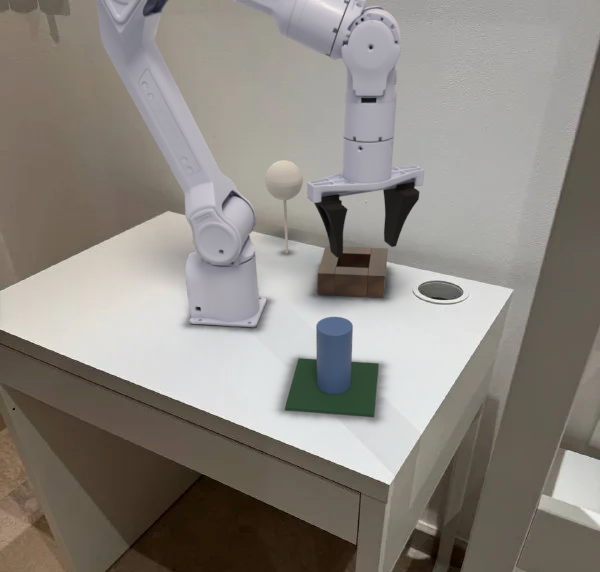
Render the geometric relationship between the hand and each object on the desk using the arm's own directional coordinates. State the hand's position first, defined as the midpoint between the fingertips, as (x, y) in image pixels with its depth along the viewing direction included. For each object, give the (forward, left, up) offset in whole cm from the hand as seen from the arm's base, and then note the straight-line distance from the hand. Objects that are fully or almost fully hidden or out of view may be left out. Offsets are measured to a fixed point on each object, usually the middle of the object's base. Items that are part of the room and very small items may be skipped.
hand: (363, 248), depth 76 cm
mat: (-2, -16, -10) cm, 19 cm away
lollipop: (-14, +21, -11) cm, 27 cm away
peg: (-2, -16, -10) cm, 19 cm away
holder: (-2, +11, -10) cm, 16 cm away
